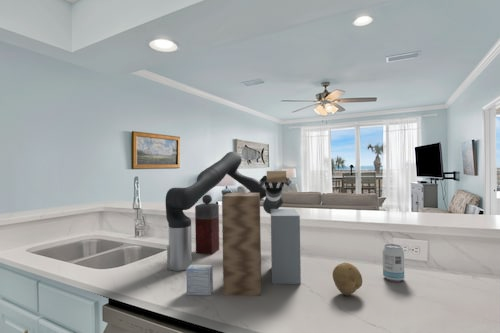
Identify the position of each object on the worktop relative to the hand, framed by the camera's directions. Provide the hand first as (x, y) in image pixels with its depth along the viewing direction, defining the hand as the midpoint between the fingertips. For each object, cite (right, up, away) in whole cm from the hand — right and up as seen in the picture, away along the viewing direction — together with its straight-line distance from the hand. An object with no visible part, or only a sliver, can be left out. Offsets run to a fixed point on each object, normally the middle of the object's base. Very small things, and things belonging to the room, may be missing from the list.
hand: (274, 173), depth 117 cm
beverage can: (+42, -38, -14) cm, 59 cm away
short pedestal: (+3, -39, -9) cm, 40 cm away
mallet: (0, -3, -5) cm, 5 cm away
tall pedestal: (-13, -39, -20) cm, 45 cm away
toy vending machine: (-31, -40, +25) cm, 56 cm away
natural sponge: (+21, -39, -26) cm, 51 cm away
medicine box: (-27, -39, -23) cm, 53 cm away
